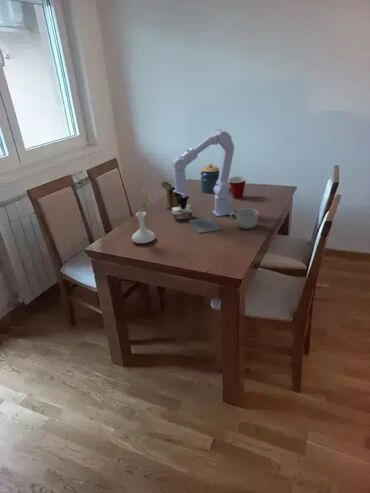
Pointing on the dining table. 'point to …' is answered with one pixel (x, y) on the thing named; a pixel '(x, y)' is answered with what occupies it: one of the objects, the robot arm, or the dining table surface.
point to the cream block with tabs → (182, 211)
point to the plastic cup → (237, 186)
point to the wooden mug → (170, 196)
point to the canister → (209, 178)
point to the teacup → (246, 218)
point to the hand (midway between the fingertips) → (181, 206)
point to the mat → (204, 225)
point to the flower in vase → (143, 233)
